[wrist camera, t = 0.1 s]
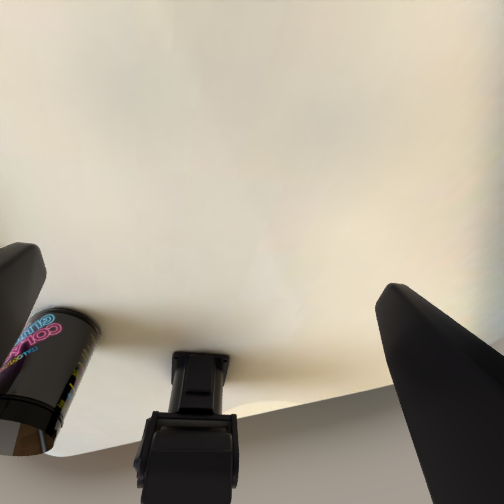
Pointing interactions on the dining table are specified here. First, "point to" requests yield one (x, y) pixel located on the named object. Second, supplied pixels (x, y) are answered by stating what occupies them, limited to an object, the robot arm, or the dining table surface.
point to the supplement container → (43, 379)
